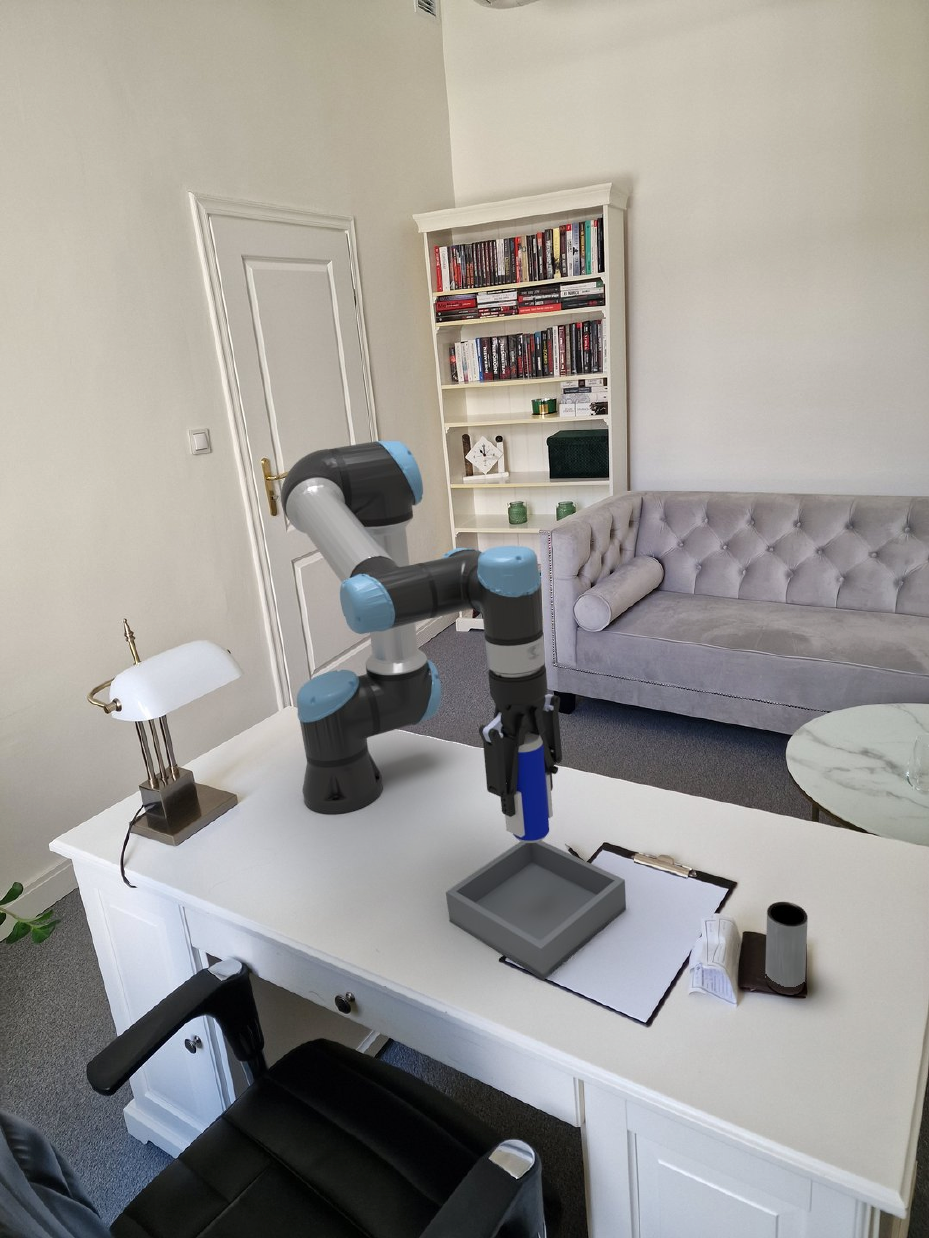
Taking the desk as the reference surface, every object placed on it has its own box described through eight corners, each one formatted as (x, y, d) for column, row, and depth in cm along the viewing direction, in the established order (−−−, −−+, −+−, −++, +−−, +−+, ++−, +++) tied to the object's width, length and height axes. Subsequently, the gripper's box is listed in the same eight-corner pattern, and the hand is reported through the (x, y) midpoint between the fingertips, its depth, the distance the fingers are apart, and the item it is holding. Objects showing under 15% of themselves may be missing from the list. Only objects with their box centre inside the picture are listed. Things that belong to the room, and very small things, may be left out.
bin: (449, 920, 117) (445, 891, 115) (532, 862, 128) (529, 834, 127) (543, 980, 104) (541, 948, 103) (626, 909, 116) (624, 879, 114)
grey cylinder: (758, 984, 100) (760, 915, 97) (775, 963, 103) (777, 896, 100) (794, 1002, 97) (797, 931, 94) (811, 980, 100) (814, 911, 97)
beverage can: (552, 824, 114) (545, 728, 109) (546, 846, 109) (538, 746, 104) (516, 822, 115) (508, 727, 110) (508, 843, 110) (499, 744, 106)
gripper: (488, 697, 96) (504, 864, 103) (583, 650, 107) (592, 803, 115) (445, 684, 101) (463, 843, 108) (541, 640, 113) (551, 787, 120)
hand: (529, 822), depth 111 cm, fingers closed on beverage can, 5 cm apart
